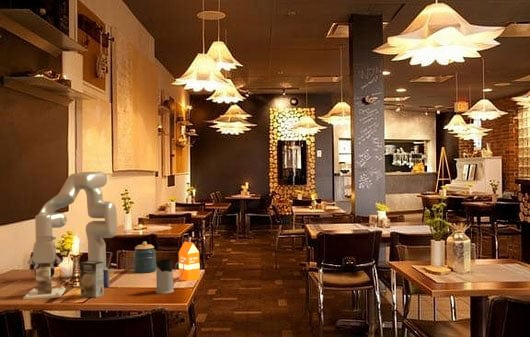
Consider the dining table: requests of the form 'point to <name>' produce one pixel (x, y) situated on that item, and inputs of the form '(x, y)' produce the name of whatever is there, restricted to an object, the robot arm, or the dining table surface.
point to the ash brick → (43, 273)
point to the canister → (144, 258)
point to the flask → (106, 277)
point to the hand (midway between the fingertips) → (44, 276)
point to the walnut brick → (44, 287)
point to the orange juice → (189, 262)
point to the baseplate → (34, 294)
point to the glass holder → (165, 276)
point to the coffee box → (92, 279)
